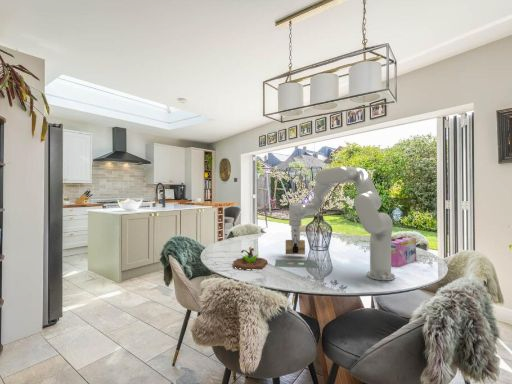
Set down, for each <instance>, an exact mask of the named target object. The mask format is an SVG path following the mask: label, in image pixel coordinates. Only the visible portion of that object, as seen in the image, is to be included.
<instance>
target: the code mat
mask: <svg viewBox="0 0 512 384" xmlns="http://www.w3.org/2000/svg"><path fill="white" fill-rule="evenodd" d="M274 267H275V268H303V269H304V268H306V269H307V268H310V269H318V268H319V266H318V264H317V261H316V260H306V259H303V260H302V259H275V262H274Z"/></svg>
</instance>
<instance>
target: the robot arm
mask: <svg viewBox="0 0 512 384" xmlns="http://www.w3.org/2000/svg"><path fill="white" fill-rule="evenodd" d="M315 181H316V183H315V185H314V186H313V187H312V189H311V191H312V193H313V194H314V197H313V198H312V199H311V201H310V202H308V203H297V202H296V203H294V202H293V203H290V204H289V206H288V209H289V210H288V217H289V218H288V220H289V221H288V225H289V226H290V229H291V230H290V233H291V240H292V241H293V253H298V241H299V242H300V240H301V239H300V238H301V228H300V226H302V217H309V216H313V215H316V214H317V213H318V211H319V210H320V209H321V207H322V206H323V204H324V201H325V197H326V196H327V194H328V193H330V191H331V190H332V188H333V187H334V186H335V185H336V184H348V183H349V184H351V183H353V184H355V188H356V192H357V195H356V196H355V198H354V203H353V206H354V210H355V212H356V214H357V217H358V219H359V221H360V223H361V226H362V228H363V229H364V231H365V232H366V233H368V234H370V240H369V270H368V271H367V272H366V276H367V277H368V278H370V279H373V280H377V281H384V282H385V281H387V282H388V281H393V280H395V276H396V275H395V274H394V273H392V266H391V239H392V235H393V227H394V225H393V219H392V218H391V216H390V215H389V214H388V213H386V212H379V211H378V210H379V209H380V208H381V207H382V199H381V197H380V195H379V193H378V190H377V188H376V186H375V185H374V182H373V180H372V178H371V176H370V173H369V172H368V171H367V169H364V168H361V167H357V166H356V167H354V166H343V165H342V166H341V165H340V166H335V167H330V168H323V169H320V170H319V171H318V172H317V173H316V174H315Z"/></svg>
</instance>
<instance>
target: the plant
mask: <svg viewBox="0 0 512 384" xmlns="http://www.w3.org/2000/svg"><path fill="white" fill-rule="evenodd" d="M248 250H249V252H248ZM248 250H246V249H243V250H241V251H240V253H242V254H243V253H244V252H245V253H247V254H244V255H241V257H238V258H236V259H235V260H233V264H234V265H233V264H232V265H233V268H234V267H236V268H241V269H251V270H250V271H253V270H252V269H257V270H264V269H265V268H266V266H267V265H268V264H269V263H268V259H265V258H262V257H258V255H259V254H255V255H254V254H253V252H254V251H255V248H253V247H251V246H249V247H248ZM263 268H264V269H263Z"/></svg>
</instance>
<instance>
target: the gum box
mask: <svg viewBox="0 0 512 384" xmlns="http://www.w3.org/2000/svg"><path fill="white" fill-rule="evenodd" d="M416 261H417V238H416V237H414V238H409V237H407V236H400V237H396V238H391V267H394V268H395V267H396V268H399V267H401V266H404V265H407V264H411V263H414V262H416Z"/></svg>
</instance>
